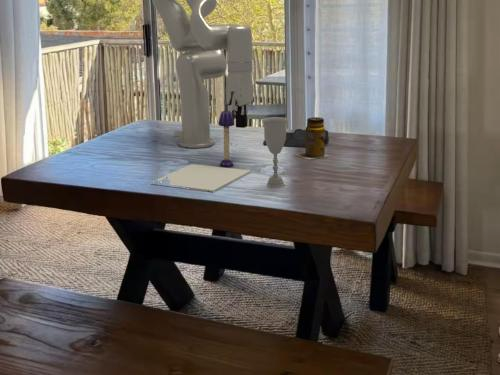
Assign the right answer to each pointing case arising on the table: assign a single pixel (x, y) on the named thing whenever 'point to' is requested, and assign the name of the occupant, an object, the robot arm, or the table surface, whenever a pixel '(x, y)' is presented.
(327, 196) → the table surface
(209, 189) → the mat
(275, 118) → the chalice
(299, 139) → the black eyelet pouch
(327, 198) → the table surface
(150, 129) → the table surface
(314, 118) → the condiment
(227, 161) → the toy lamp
